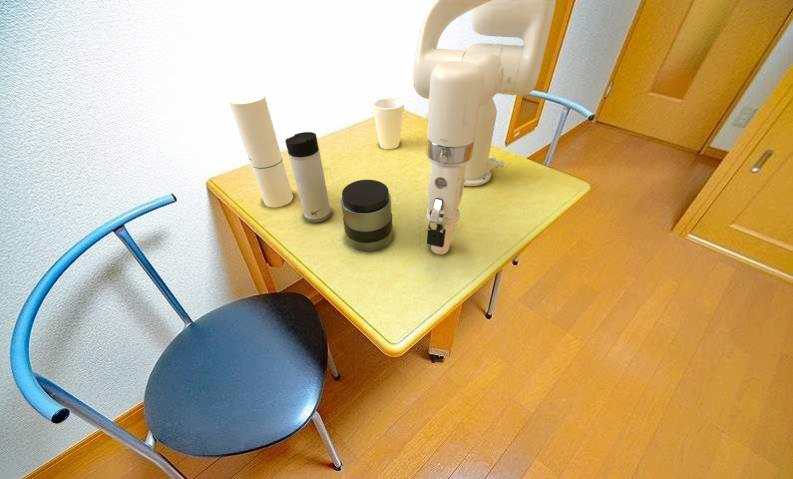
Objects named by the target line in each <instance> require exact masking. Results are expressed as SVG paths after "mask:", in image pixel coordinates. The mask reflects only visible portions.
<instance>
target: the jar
mask: <svg viewBox="0 0 793 479" xmlns="http://www.w3.org/2000/svg"><path fill="white" fill-rule="evenodd" d="M340 204H341V211H342V221H343V227H344V228H343V229H344V233H345V236H346V241H347V243H348V244H349V246H350V247H352V249H354V250H357V251H361V252H376V251H379V250H381V249H384V248H385V247H386V246H388V245H389V244H390V242H391V241H392V240H393V212H392V196H391V194H390V192H389V187H388V186H387V184H385V183H384V182H382V181H379V180H376V179H360V180H359V179H358V180H355V181H352V182H350V183H349V184H347V185H346V186H344V188H343V189H342V191H341V199H340Z"/></svg>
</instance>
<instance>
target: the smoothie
mask: <svg viewBox="0 0 793 479" xmlns="http://www.w3.org/2000/svg"><path fill="white" fill-rule="evenodd" d="M440 214H444V211H442V210H441V213H440ZM426 218H427V221H429V220H430V215H429V214H428V212H427V211H426ZM460 218H461V210H460V209H459V208H458V210H457V213H456V215H455V217H454V218H453V219H452V220H451V219H447V218H446V223H445V227H444V229H446V232H445V241H444V246H443V247H437V246H433V245H430V250H431V252H432V253H434V254H436V255H445V254H447V253H448V252H449V250H450V246H451V244H452V240H453V237H454V233H455V231H456V226H457V223H458V222H459V220H460ZM442 219H443V218H440V217H439V223H438V224H440V225H441V223H442Z"/></svg>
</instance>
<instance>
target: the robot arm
mask: <svg viewBox="0 0 793 479" xmlns="http://www.w3.org/2000/svg"><path fill="white" fill-rule="evenodd" d="M556 3H557V0H433V2H432V4H431V5H430V7H429V8H428V10H427V11H426V13H425V15H424V17H423V20H422V22H421V25H420V28H419V33H418V37H417V43H416V48H415V54H414V61H413V68H412V69H413V71H412V83H413V88H414V91H415V92H416V94H417V95H418V96H420V97H421V98H423V99H427V100H428V112H427V113H428V114H427V133H426V152H425V157H426V159H427V161H428V162H430V164H431V165H430V171H429V178H428V179H429V181H428V189H427V190H428V191H427V208H426V213H427V212H428V214H429V215H430V220H428V225H427V230H426V231H427V232H426V245H428V246H431V245H433V246H437V247H443V246H444V241H445V232H446V229H444V227H445V223H446V218H447V219H451V220H452V219H453V218H454V217H455V215H456V213H457V210H458V209H459V207H460V204H461V202H462V199H463V194H464V187H477V186H482V185H485V184H486V183H488V182H489V181H490V180H491V178H492V170H493V169H500V168H504V167H505V161H504V160H503V159H501V160H497V159H496V157H495V156H494V157H490V152H491V146H492V142H493V135H494V130H495V126H496V121H497V116H498V115H497V114H498V113H497V111H498V110H497V106H496V104H495V101H494V99H493V98H494V97H495V96H496V95H505V96H517V97H518V96H519V97H520V96H522V97H523V96H528V95H529V94H531V93H532V92H533V91H534V90H535V87H536V86H537V83H538V80H539V77H540V73H541V68H542V65H543V60H544V56H545V52H546V48H547V44H548V39H549V36H550V31H551V26H552V22H553V19H554V13H555V9H556ZM470 11H471V26H472V29H473V31H474V33H476V34H478V35H481V36H488V37H501V38H517V39H521V40H522V41H523V45H517V44H503V43H486V42H483V43H482V42H481V43H480V42H479V43H473V44H470V45H468V46H466V47H465V48H463V50H462V49H447V48H438V45H439V41H440V39H441V36H442V35H443V33H444V31H445V29H447V28H448V26H450V24H451V23H452V22H454V21H455V20H456V19H458V18H460V17H462V16H463V15H465V14H467V13H468V12H470ZM441 210H442V211H444V214H440V213H441ZM439 217H440V218H443V219H442V223H441V225H440V224H438V223H439Z"/></svg>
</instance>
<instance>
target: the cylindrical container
mask: <svg viewBox="0 0 793 479" xmlns="http://www.w3.org/2000/svg"><path fill="white" fill-rule="evenodd" d="M227 102H228V105H229V108H230V110H231V114H232V116H233V120H234V122H235V124H236V127H237V129H238V133H239V136H240V139H241V141H242V144H243V147H244V150H245V153H246V155H247V156H246V157H247V158H248V161H249V164H250V167H251V170H252V172H253V175H254V178H255V181H256V184H257V186H258V189H259V192H260V195H261V198H262V201H263V204H264V205H265V206H267V207H269V208H281V207H285V206H286V205H288V204H290V203H291V202H292V201H293V198H294V195H293V192H292V188H291V185H290V182H289V178H288V175H287V171H286V170H287V169H286V167H285V163H284V160H283V156H282V152H281V149H280V145H279V142H278V138H277V135H276V131H275V128H274V123H273V120H272V116H271V113H270V110H269V106H268V103H267V102H268V101H267V99H266V95H265V93H263V92H260V91H259V92H258V91H246V92H241V93H237V94H234V95H231V96H230V97H229V98H228V99H227Z"/></svg>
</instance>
